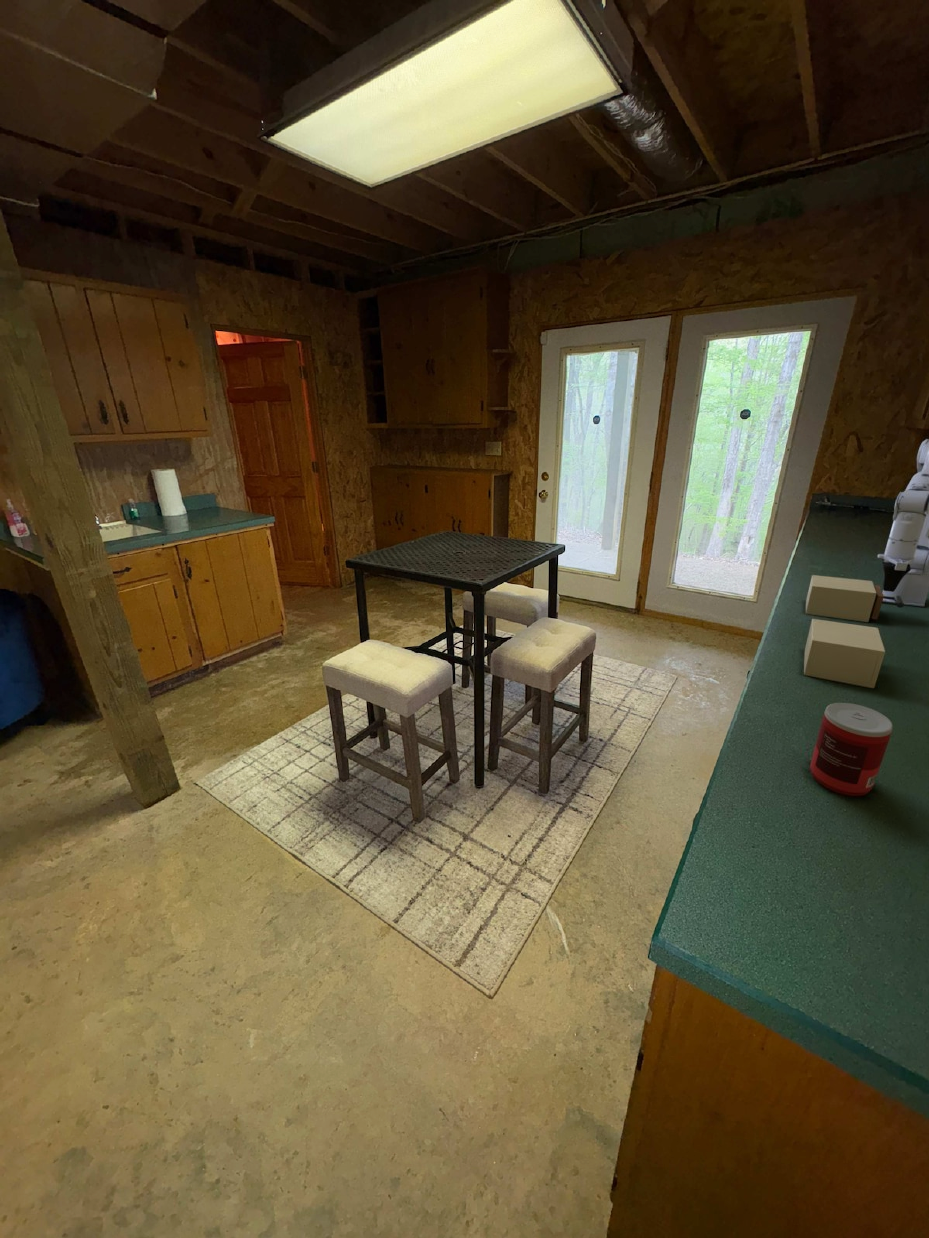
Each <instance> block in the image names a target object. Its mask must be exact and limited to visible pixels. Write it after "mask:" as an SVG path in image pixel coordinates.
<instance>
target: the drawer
mask: <svg viewBox="0 0 929 1238" xmlns="http://www.w3.org/2000/svg"><path fill="white" fill-rule="evenodd" d="M873 585H874V588H875V590H876V597H875V600H874V604H873V607H872V611H871V614H870V619H872V620H878V618H879V615H880V611H881V608H882V605H889V606H896V607H897V608H904V606H905V604H904V603H903V601H902V599H901V597H900V596H895V597H889V596H883V593H882V592H883V590H882V589H881V586H880V585H876V584H873ZM883 599H892V600H895V602H896V603H895V602H887V601H883Z"/></svg>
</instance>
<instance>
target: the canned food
mask: <svg viewBox="0 0 929 1238" xmlns="http://www.w3.org/2000/svg"><path fill="white" fill-rule="evenodd" d="M892 733H893V723H892V721H891V720H890V719H889V718H888V717H887V716H885V715H884V714H883V713H881V712H879V711H877V710H875V709H872V708H870V707H867V706H864V705H860V704H855V703H851V702H850V703H849V702H835V703H831V704H828V705H827V706H826V707H825V710H824V713H823V717H822V720H821V723H820V727H819V731H818V735H817V739H816V743H815V747H814V750H813V753H812V757H811V761H810V765H809V767H810V773H811V775H812V777H813V779H814V780H815V781H816V782H817V783H818V784H820V785H821V786H823V787H824V788H826V789H828V790H830V791H832V792H834V793H838V794H839V795H843V796H849V797H860V796H861V797H862V796H865V795H867V794H868V793H869V792H870V791H871V790H872V789H873V788H874V786H875V782H876V780H877V777H878V773H879V771H880V768H881V765H882V762H883V759H884V756H885V753H886V750H887V747H888V745H889V742H890V739H891V735H892Z"/></svg>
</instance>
